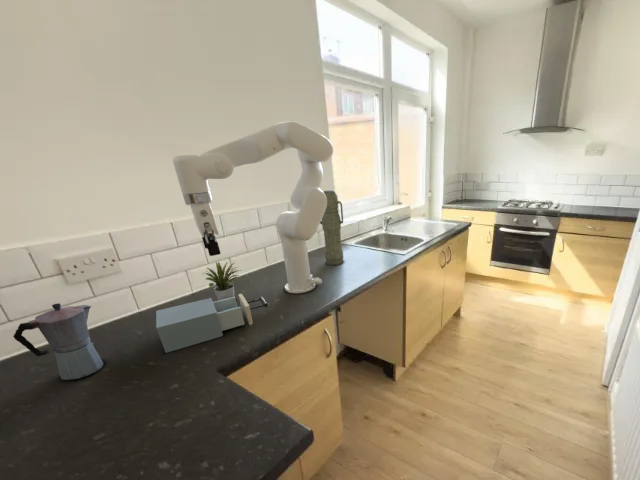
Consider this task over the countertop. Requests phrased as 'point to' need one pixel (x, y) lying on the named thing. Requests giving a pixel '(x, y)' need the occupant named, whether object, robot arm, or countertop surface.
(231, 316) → the drawer
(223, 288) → the house plant
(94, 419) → the countertop surface
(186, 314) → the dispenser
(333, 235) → the thermos
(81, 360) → the moka pot
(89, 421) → the countertop surface
